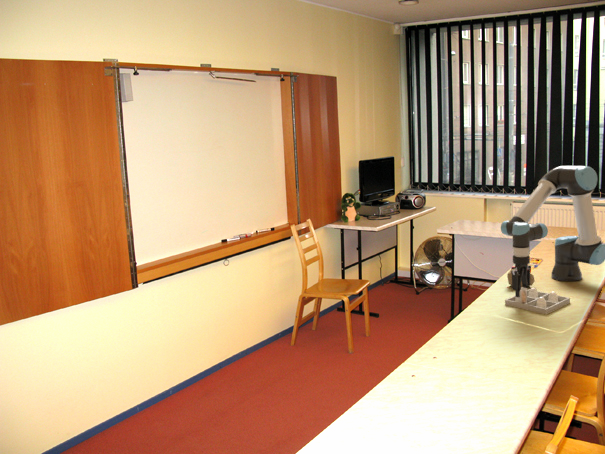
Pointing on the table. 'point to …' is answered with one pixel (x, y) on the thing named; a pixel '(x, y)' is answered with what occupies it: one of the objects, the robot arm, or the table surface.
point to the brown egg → (523, 298)
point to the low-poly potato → (521, 280)
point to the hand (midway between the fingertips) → (521, 301)
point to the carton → (532, 303)
